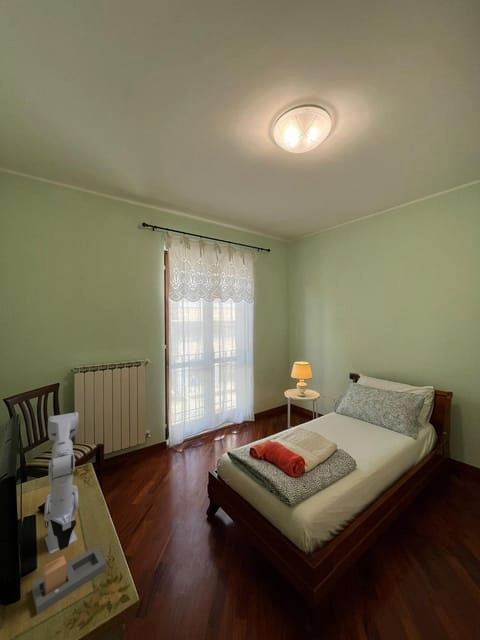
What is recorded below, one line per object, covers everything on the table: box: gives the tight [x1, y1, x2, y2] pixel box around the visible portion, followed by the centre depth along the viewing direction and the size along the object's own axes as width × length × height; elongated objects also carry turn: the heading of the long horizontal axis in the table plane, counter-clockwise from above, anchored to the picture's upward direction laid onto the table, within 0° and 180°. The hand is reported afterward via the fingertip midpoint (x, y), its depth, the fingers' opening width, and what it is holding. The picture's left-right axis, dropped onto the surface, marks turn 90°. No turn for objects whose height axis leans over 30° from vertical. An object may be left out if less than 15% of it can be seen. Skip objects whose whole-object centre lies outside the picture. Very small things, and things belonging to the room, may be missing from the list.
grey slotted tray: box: [31, 545, 107, 616], centre depth 76 cm, size 9×17×3 cm, turn 136°
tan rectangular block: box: [43, 555, 67, 595], centre depth 73 cm, size 4×5×7 cm
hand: (60, 540), depth 78 cm, fingers open, 7 cm apart
